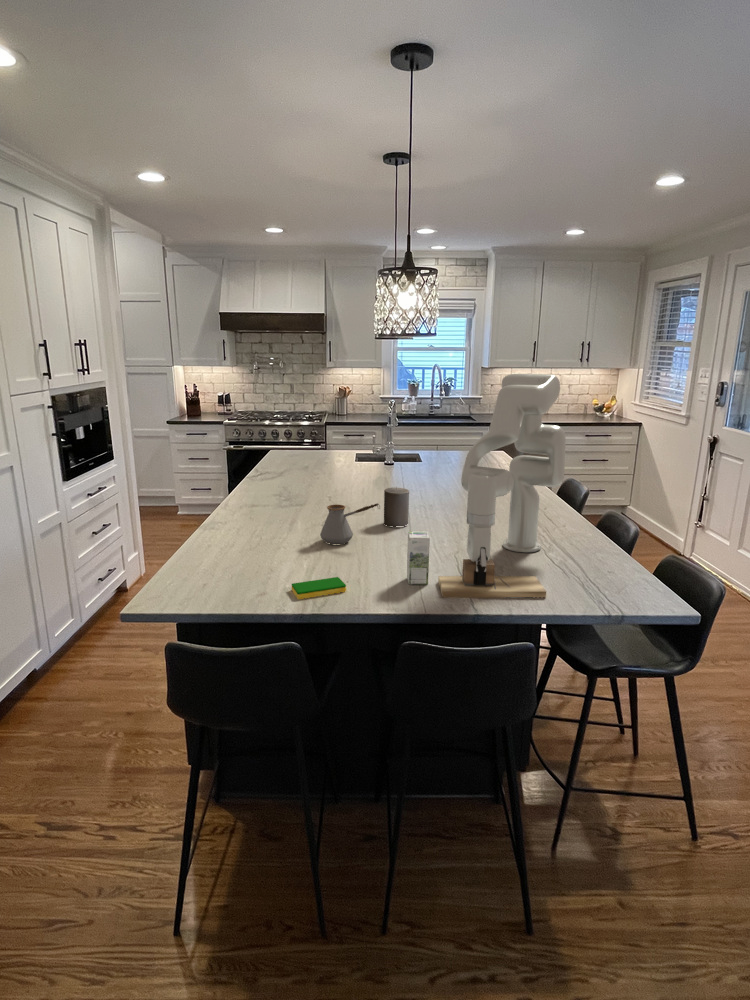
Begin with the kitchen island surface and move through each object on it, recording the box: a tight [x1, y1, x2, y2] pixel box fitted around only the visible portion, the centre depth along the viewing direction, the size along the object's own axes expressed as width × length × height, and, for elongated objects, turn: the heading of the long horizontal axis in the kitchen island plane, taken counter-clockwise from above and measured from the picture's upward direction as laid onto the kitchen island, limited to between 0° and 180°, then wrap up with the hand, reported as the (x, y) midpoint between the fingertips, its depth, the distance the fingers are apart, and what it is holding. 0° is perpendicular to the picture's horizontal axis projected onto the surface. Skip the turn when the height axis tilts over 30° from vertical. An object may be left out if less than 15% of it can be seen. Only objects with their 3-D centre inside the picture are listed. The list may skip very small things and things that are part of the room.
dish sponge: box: [291, 576, 347, 600], centre depth 160 cm, size 7×14×2 cm, turn 112°
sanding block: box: [461, 558, 496, 585], centre depth 160 cm, size 4×8×6 cm, turn 91°
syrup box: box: [406, 531, 431, 586], centre depth 165 cm, size 6×6×14 cm
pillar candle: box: [383, 486, 410, 527], centre depth 222 cm, size 10×10×15 cm
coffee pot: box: [319, 503, 381, 545], centre depth 199 cm, size 21×12×15 cm, turn 76°
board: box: [437, 575, 547, 599], centre depth 161 cm, size 11×28×2 cm, turn 90°
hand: (477, 580), depth 161 cm, fingers closed on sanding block, 4 cm apart
